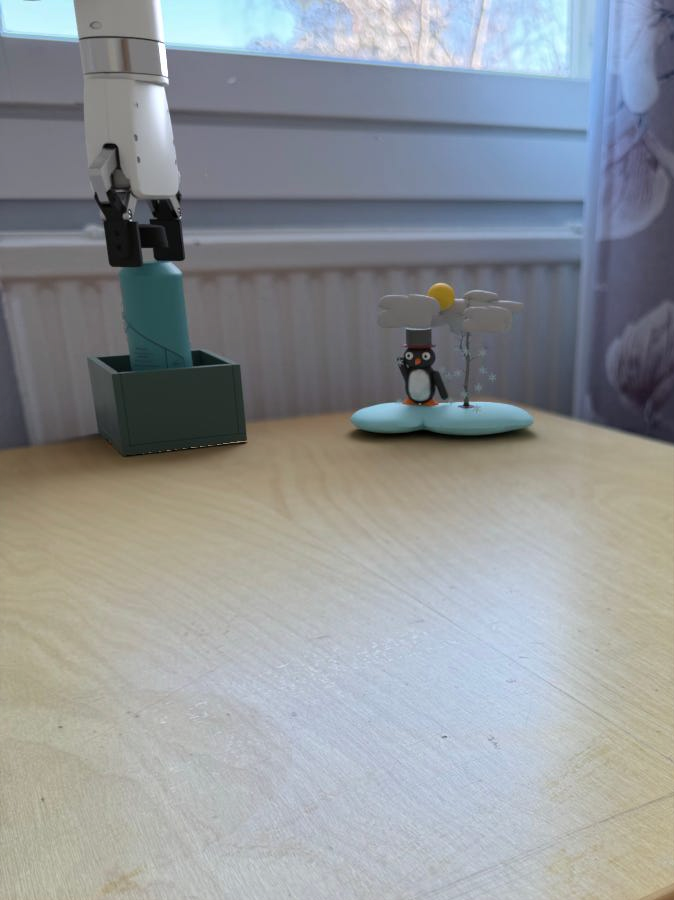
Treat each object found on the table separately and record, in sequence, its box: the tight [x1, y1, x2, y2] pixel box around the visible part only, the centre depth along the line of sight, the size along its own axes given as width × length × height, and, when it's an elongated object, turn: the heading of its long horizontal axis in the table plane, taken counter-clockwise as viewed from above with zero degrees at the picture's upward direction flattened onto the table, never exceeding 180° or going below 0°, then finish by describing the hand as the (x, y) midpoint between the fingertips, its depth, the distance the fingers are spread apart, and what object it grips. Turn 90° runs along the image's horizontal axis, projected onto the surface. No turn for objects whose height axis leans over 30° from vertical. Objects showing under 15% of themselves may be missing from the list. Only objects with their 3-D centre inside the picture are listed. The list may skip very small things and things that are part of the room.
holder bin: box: [86, 348, 248, 457], centre depth 105 cm, size 13×13×8 cm
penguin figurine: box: [350, 282, 535, 436], centre depth 107 cm, size 20×11×15 cm, turn 87°
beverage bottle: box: [117, 223, 194, 371], centre depth 102 cm, size 6×7×20 cm
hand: (149, 263), depth 99 cm, fingers open, 9 cm apart
